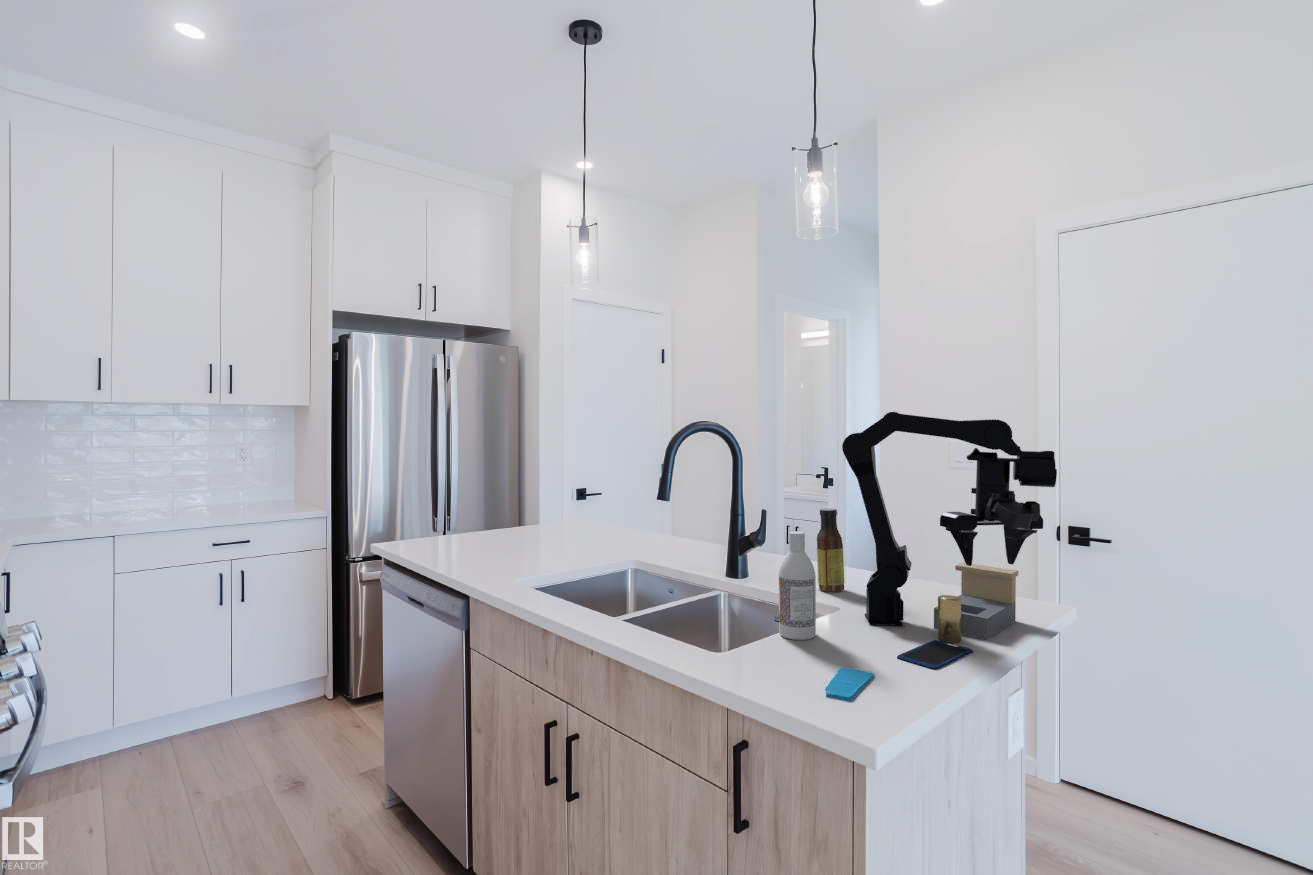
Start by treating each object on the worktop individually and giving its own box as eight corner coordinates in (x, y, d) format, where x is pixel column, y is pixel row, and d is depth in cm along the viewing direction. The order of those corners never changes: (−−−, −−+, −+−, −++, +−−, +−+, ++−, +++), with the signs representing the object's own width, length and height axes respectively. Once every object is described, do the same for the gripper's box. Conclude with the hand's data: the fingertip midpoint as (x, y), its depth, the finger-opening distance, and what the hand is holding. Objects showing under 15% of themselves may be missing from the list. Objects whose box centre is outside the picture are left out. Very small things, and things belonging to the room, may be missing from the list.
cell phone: (974, 653, 117) (974, 648, 117) (935, 672, 108) (935, 668, 108) (935, 642, 122) (935, 638, 122) (894, 660, 114) (894, 656, 114)
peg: (941, 643, 121) (941, 600, 121) (935, 636, 125) (935, 594, 125) (964, 644, 120) (964, 601, 120) (957, 636, 124) (957, 595, 124)
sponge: (812, 690, 99) (849, 695, 96) (839, 666, 109) (874, 669, 106) (813, 700, 99) (850, 705, 96) (840, 675, 109) (875, 678, 106)
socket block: (989, 640, 122) (990, 584, 122) (931, 627, 130) (931, 575, 130) (1018, 621, 133) (1018, 570, 133) (962, 610, 141) (962, 562, 141)
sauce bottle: (847, 589, 160) (847, 508, 159) (839, 594, 155) (839, 511, 154) (822, 585, 164) (821, 506, 163) (813, 590, 158) (812, 509, 158)
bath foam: (783, 627, 131) (783, 528, 130) (818, 631, 128) (818, 530, 127) (775, 638, 124) (774, 534, 124) (811, 643, 122) (811, 536, 121)
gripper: (978, 489, 116) (975, 576, 116) (1068, 488, 119) (1065, 573, 120) (939, 483, 127) (936, 562, 127) (1022, 482, 130) (1020, 559, 131)
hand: (989, 564), depth 126 cm, fingers open, 9 cm apart
